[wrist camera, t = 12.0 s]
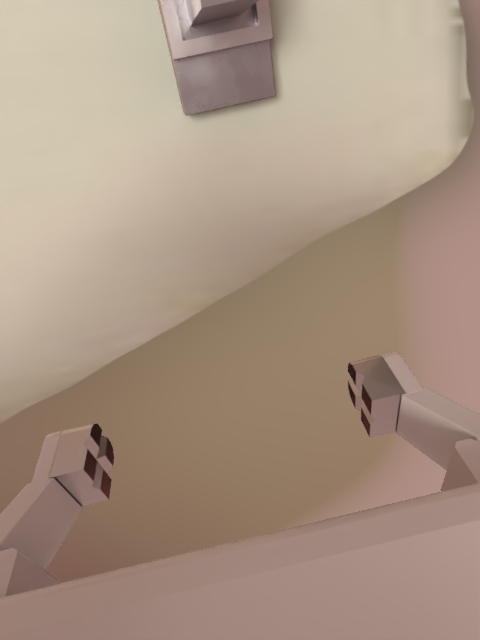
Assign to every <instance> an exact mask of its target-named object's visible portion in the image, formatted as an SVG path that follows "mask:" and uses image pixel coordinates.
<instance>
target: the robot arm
mask: <svg viewBox="0 0 480 640" xmlns="http://www.w3.org/2000/svg"><path fill="white" fill-rule="evenodd" d="M348 372H349V374H350V376H351V377H350V379H349V380H348V388H349V394H350V397H351V400H352V402H353V405H354V407H355V409H357V410H359V411H360V412H361V421H362V423H363V425H364V427H365V429H366V431H367V433H368V435H369V437H374V436H379V435H384V434H388V433H393V432H396V433H397V434H398V435H400V436H401V437H402V438H404V439H405V440H406V441H408V442H409V443H410V444H412V445H413V446H414V447H416V448H417V449H419V450H420V451H421V452H423V453H424V454H425V455H427V456H428V457H429V458H431V459H432V460H433V461H435V462H436V463H438V464H439V465H440V466H441V467H443V468H444V469H446V470H447V472H446V475H445V478H444V482H443V484H442V488H441V491H442V492H438V493H434V494H430V495H426V496H422V497H417V498H413V499H409V500H405V501H401V502H397V503H392V504H388V505H384V506H380V507H376V508H372V509H368V510H363V511H359V512H355V513H351V514H347V515H343V516H338V517H334V518H330V519H326V520H322V521H317V522H314V523H309V524H305V525H301V526H297V527H292V528H288V529H284V530H280V531H276V532H272V533H268V534H263V535H259V536H255V537H251V538H247V539H243V540H239V541H234V542H231V543H226V544H222V545H218V546H213V547H210V548H205V549H201V550H197V551H193V552H189V553H185V554H180V555H176V556H172V557H168V558H164V559H160V560H155V561H151V562H147V563H143V564H139V565H135V566H131V567H126V568H122V569H118V570H114V571H110V572H106V573H102V574H97V575H93V576H89V577H85V578H81V579H77V580H72V581H68V582H65V583H60V581H59V580H58V579H57V578H56V577H55V576H54V575H52V574H51V573H49V572H48V571H46V569H47V567H48V565H49V564H50V562H51V560H52V559H53V557H54V555H55V554H56V552H57V550H58V549H59V547H60V545H61V544H62V542H63V540H64V539H65V537H66V535H67V534H68V532H69V530H70V529H71V527H72V525H73V524H74V522H75V520H76V519H77V517H78V515H79V514H80V512H81V511H82V507H84V506H88V505H91V504H95V503H99V502H103V501H106V500H109V495H110V488H111V478H110V477H109V476H108V473H109V471H110V470H111V469H112V467H113V463H114V453H113V447H112V445H111V442H110V441H109V439H108V438H107V437H104V436H102V435H101V433H102V429H101V428H100V426H99V425H98V424H91V425H87V426H82V427H77V428H73V429H68V430H64V431H59V432H55V433H50V434H48V435H47V436H46V437H45V439H44V442H43V445H42V448H41V452H40V455H39V459H38V462H37V465H36V468H35V472H34V475H33V478H32V482H31V483H30V484H26V485H25V486H24V488H23V489H22V490H21V491H20V492H19V493H18V495H17V496H16V497H15V498H14V499H13V500H12V501H11V503H10V504H9V505H8V506H7V507H6V508H5V510H4V511H3V512H2V513H1V514H0V640H480V414H479V413H477V412H475V411H473V410H471V409H469V408H467V407H465V406H463V405H461V404H459V403H457V402H455V401H453V400H451V399H449V398H447V397H445V396H443V395H441V394H439V393H437V392H435V391H433V390H431V389H429V388H427V389H423V387H422V386H421V384H420V383H419V382H418V380H417V379H416V377H415V376H414V374H413V373H412V372H411V370H410V369H409V367H408V366H407V365H406V363H405V362H404V360H403V359H402V358H401V356H400V355H399V353H397V352H391V353H387V354H383V355H380V356H379V355H378V356H374V357H370V358H366V359H362V360H358V361H354V362H350V363H349V365H348Z"/></svg>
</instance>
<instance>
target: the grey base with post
mask: <svg viewBox="0 0 480 640" xmlns="http://www.w3.org/2000/svg"><path fill="white" fill-rule="evenodd" d="M158 4H159V8H160V13H161V17H162V21H163V26H164V30H165V34H166V39H167V43H168V47H169V52H170V56H171V60H172V65H173V69H174V73H175V78H176V82H177V86H178V90H179V95H180V99H181V103H182V108H183V112H184V114H185V115H190V114H195V113H199V112H204V111H208V110H213V109H217V108H222V107H226V106H231V105H235V104H240V103H244V102H249V101H253V100H258V99H262V98H267V97H271V96H275V87H274V78H273V69H272V60H271V51H270V42H269V39H272V38H273V33H272V24H271V14H270V5H269V0H259V1H258V2H256V3H255V4H254V5H252V6H251V7H250V8H249V9H247V10H246V11H245V12H243V13H242V14H241V15H238V16H234V17H229V18H225V19H220V20H216V21H211V22H206V23H202V24H197V25H193V26H190V23H189V18H188V13H187V8H186V3H185V0H158Z"/></svg>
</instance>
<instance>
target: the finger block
mask: <svg viewBox="0 0 480 640" xmlns="http://www.w3.org/2000/svg"><path fill="white" fill-rule="evenodd" d="M258 1H259V0H185V3H186V8H187V13H188V18H189V23H190V26H193V25H197V24H202V23H206V22H211V21H216V20H220V19H225V18H229V17H234V16H238V15H241V14H242V13H243V12H245V11H246V10H247V9H249V8H250V7H251V6H252V5H254V4H255V3H256V2H258Z"/></svg>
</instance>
